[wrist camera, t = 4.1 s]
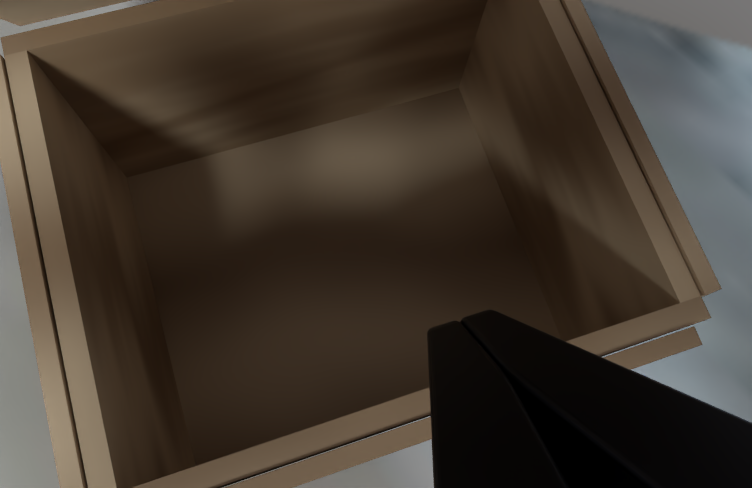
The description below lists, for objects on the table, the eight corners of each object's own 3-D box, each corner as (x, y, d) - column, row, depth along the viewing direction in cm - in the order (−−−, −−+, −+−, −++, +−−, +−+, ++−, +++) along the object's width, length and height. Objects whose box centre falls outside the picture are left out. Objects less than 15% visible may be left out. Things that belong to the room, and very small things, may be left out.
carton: (598, 373, 22) (741, 330, 14) (178, 518, 20) (74, 563, 12) (474, 78, 25) (536, -91, 17) (101, 179, 23) (-22, 39, 15)
